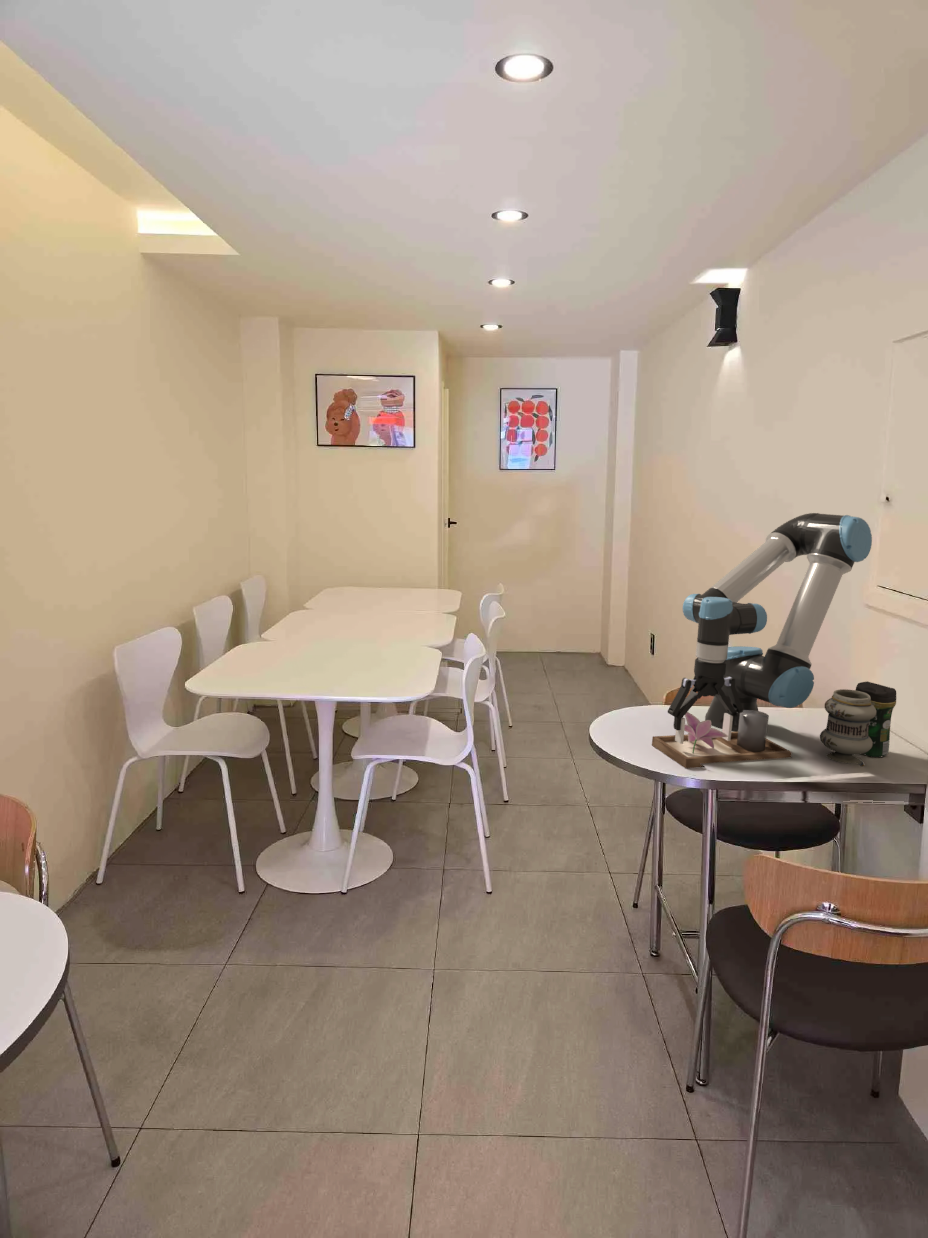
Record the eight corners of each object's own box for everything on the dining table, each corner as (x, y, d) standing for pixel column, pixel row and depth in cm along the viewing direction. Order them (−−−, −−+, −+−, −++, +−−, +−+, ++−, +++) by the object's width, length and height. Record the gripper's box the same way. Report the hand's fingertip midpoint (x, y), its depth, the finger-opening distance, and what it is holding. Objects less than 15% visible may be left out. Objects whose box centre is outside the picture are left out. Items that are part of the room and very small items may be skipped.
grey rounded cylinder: (753, 742, 211) (757, 709, 210) (770, 751, 205) (774, 717, 203) (730, 743, 210) (734, 710, 208) (747, 752, 203) (750, 718, 201)
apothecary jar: (818, 765, 199) (827, 696, 195) (815, 750, 210) (824, 684, 207) (872, 773, 195) (882, 702, 191) (866, 757, 206) (875, 690, 203)
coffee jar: (841, 748, 212) (850, 681, 209) (858, 744, 217) (867, 678, 213) (876, 760, 204) (886, 690, 201) (893, 755, 209) (903, 687, 205)
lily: (730, 761, 199) (735, 724, 201) (697, 748, 193) (703, 710, 196) (693, 760, 209) (699, 725, 212) (661, 748, 204) (667, 711, 206)
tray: (750, 739, 217) (751, 730, 216) (790, 761, 201) (791, 751, 201) (651, 745, 209) (652, 736, 208) (685, 768, 193) (686, 759, 193)
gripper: (745, 654, 206) (736, 733, 210) (658, 657, 199) (651, 738, 203) (763, 661, 199) (754, 742, 203) (674, 664, 192) (666, 748, 196)
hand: (702, 740), depth 203 cm, fingers open, 13 cm apart
